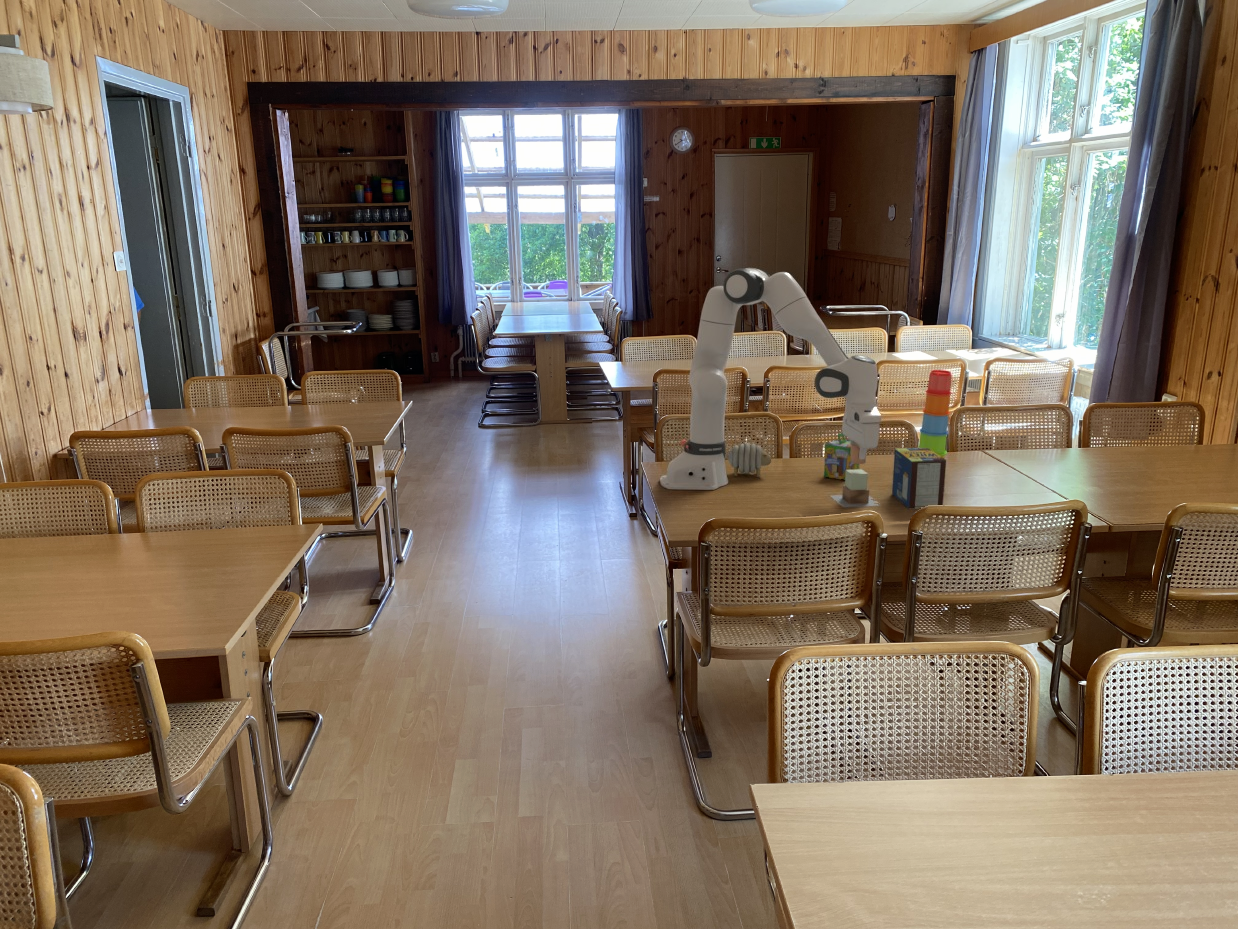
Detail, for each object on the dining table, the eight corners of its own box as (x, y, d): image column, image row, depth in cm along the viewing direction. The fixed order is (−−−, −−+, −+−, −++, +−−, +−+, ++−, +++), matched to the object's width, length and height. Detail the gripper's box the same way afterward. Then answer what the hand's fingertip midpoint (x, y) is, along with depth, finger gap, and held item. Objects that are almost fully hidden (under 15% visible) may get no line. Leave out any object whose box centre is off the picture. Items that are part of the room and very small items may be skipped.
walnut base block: (849, 503, 270) (849, 491, 269) (842, 497, 276) (842, 485, 275) (868, 502, 271) (869, 490, 270) (861, 497, 276) (861, 484, 275)
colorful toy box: (848, 481, 296) (851, 438, 292) (822, 477, 301) (824, 434, 297) (860, 475, 303) (862, 432, 299) (834, 471, 308) (836, 429, 304)
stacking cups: (940, 467, 310) (949, 368, 301) (948, 476, 301) (957, 373, 292) (910, 467, 311) (917, 368, 302) (916, 475, 302) (924, 373, 293)
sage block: (850, 490, 270) (851, 474, 268) (845, 485, 274) (845, 469, 273) (866, 489, 270) (867, 473, 269) (860, 485, 275) (861, 469, 274)
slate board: (842, 509, 267) (842, 507, 267) (829, 498, 279) (829, 495, 278) (881, 508, 268) (881, 505, 268) (866, 496, 280) (867, 493, 280)
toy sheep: (771, 479, 300) (772, 447, 297) (720, 478, 301) (721, 446, 298) (769, 471, 310) (770, 439, 307) (720, 470, 311) (720, 439, 308)
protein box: (924, 495, 280) (927, 447, 276) (943, 510, 265) (947, 460, 261) (890, 496, 280) (894, 447, 276) (907, 511, 265) (911, 460, 261)
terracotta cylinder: (853, 464, 268) (854, 448, 267) (848, 460, 272) (849, 444, 271) (867, 463, 268) (868, 447, 267) (862, 460, 273) (863, 443, 271)
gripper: (838, 404, 276) (836, 448, 279) (862, 418, 256) (860, 465, 260) (858, 403, 276) (855, 447, 280) (884, 417, 257) (881, 464, 260)
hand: (858, 456), depth 270 cm, fingers closed on terracotta cylinder, 4 cm apart
